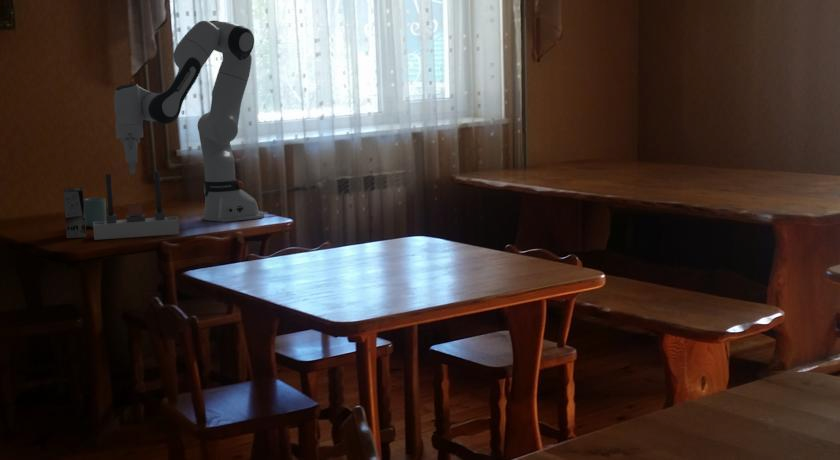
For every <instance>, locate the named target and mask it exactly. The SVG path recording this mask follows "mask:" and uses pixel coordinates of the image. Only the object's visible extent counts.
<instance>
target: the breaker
mask: <svg viewBox="0 0 840 460" xmlns="http://www.w3.org/2000/svg"><path fill="white" fill-rule="evenodd" d="M142 206H143V204H139V205H128V215H129V216H137V215H142V214H143V207H142Z"/></svg>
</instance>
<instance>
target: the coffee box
mask: <svg viewBox="0 0 840 460" xmlns="http://www.w3.org/2000/svg"><path fill="white" fill-rule="evenodd" d="M62 193H63V195H62V196H63V205H64V206H63V208H64V217H65V231H66V238H67V239H75V238H86V236H87V227H86V226H87V224H86V222H85V209H84V199H85V198H84V190H83V187H73V188H72V187H71V188H64V189H63V191H62Z"/></svg>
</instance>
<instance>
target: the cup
mask: <svg viewBox="0 0 840 460" xmlns="http://www.w3.org/2000/svg"><path fill="white" fill-rule="evenodd" d="M106 201H107V200H106V198H105V197H88V198H84V209H85V223H86V226H87V227H89V228H93V223H94V222H98V221H107V203H106Z"/></svg>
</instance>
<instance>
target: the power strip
mask: <svg viewBox="0 0 840 460" xmlns="http://www.w3.org/2000/svg"><path fill="white" fill-rule="evenodd" d="M92 228H93V230H92V231H93V238H94V239H93V240H95V241H96V240H108V239H109V240H111V239H113V240H114V239H123V238H125V239H126V238H140V237H153V236H167V235H180V224H179V217H178V215H177V216H165V220H156V219H155V217H147V218H146V215H145V213H144V214H143V213H142V215H137V216H129V214H128V215H126V219H119V220H118V219H116V223H108V224H107V220H106V221H98V222H94V223H93V227H92Z"/></svg>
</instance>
